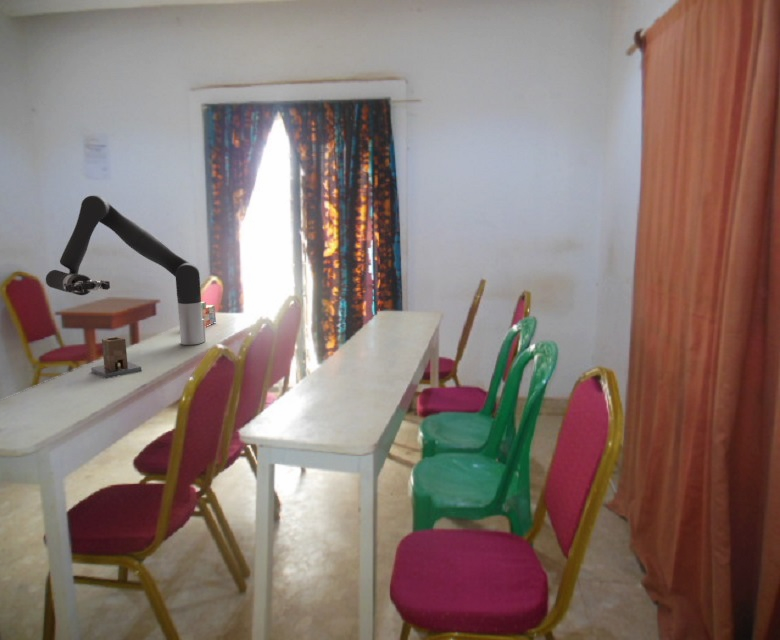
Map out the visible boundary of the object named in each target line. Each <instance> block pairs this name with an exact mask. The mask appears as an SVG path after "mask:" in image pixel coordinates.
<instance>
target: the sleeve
mask: <svg viewBox="0 0 780 640" xmlns="http://www.w3.org/2000/svg"><path fill="white" fill-rule="evenodd" d="M101 346H102V357H103V365H104V368H107V369H109V370H115V361H117V360H118V361H119V362H120V363H121V366H122V367H123V368H126V367H128V364H127V362H128V354H127V344H126V338H124V337H121V336H113V337H105V338H101Z"/></svg>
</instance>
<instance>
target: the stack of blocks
mask: <svg viewBox="0 0 780 640" xmlns="http://www.w3.org/2000/svg"><path fill="white" fill-rule="evenodd" d="M201 307H202V319H204V325H205V326H207V325H209V324H212V323H214V322H216V323H217V319H216V306H215V304H207V302H206V301H201Z"/></svg>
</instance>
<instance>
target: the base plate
mask: <svg viewBox="0 0 780 640" xmlns="http://www.w3.org/2000/svg"><path fill="white" fill-rule="evenodd" d="M127 364H128V367H126V368H123V367H122V366H121V363H120V362H119V361H118V360H117V361H115V370H109V369H107V368H104V364H103V365H97V366H94V367H93V366H91V367H90V370H91V373H93V372H94V373H93V374H95V373H96V375H97V374H98V376H99V377H102V376H103V377H102V378H104V377H105V378H104V379H109V378H108V377H110V378H113V376H115V377H118V375H120V376H125V375H129V374H134V373H138V371H139V372H142V366H141V365H137V364H134V363H132V362H131V361H130V362H129V361H127Z"/></svg>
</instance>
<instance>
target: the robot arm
mask: <svg viewBox="0 0 780 640" xmlns="http://www.w3.org/2000/svg"><path fill="white" fill-rule="evenodd" d="M77 217H78V218H77V221H76V224H75V226H74V229H73V232H72V234H71V236H70V238H69V240H68V242H67V244H66V246H65V248H64V250H63V252H62V254H61V257H60V259H59V263H60V265H61V266H63V267H64V268H66V269H68V272H64V271H61V270H58V269H52V270H51V271H49V272H48V273H47V274H46V276H45V284H46V285H47V286H48V287H49V288H52V289H56V290H59V291H62V292H66V293H70V294H73V295H77V296H86V295H89V293H90V292H92V291H101V290H105V291H106V290H107V291H108V290H109V289H111V285H110V283H111V282H110V281H108V280H102V279H101V280H92V279H91V278H90V277H89V276H87V275H86V274H79V271H80V267H81V264H82V261H83V260H84V257H85V255H86V252H87V250H88V246H89V244H90V239H91V237H92V235H93V233H94V231H95V229H96V227H97V225H98V224H99V223H100V224H102V225H104V226H105V227H107V228H109V230H111V231H112V232H113V233H115V235H117V236H118V237H119V238H120V239H121V240H122V241H123V242H124V243H125V244H126V245H127V246H129V248H131V249H132V250H134V251H135V252H136V253H138V254H139V255H141V256H143V257H144V258H146V259H148V261H151V262H152V263H155V264H157V265H158V266H161V267H163V268H164V269H166V271H167V272H168V273H170V274H171V275H173V277H174V278H175V286H176V288H175V289H176V298H177V309H178V310H177V311H178V322H179V324H178V325H179V336H180V339H179V340H180V344H181V345H183V346H184V345H185V346H186V345H187V346H189V345H190V346H191V345H192V346H193V345H199V344H202V343H204V342H206V328H205V325H204V319H202V307H201V302H202V294H201V293H202V291H201V278H200V272H199V271H200V270H199V269H198V267H197V266H196V265H194V264H193V263H191V262H189V261H188V260H185V259H184V258H183V257H181V256H179V255H178V254H176V253H175V252H173V250H171V249H170V248H169V247H168V246H167V245H166V244H164V243H163V242H162V241H161V240H160V239H159V238H157V237H156V236H155V235H153V234H152V233H151V232H150V231H148V230H147V229H145V228H144V227H142V226H141V225H139V224H138V223H137V222H134V221H133V220H132V219H130V218H128V217H126V216H124V214H122V213H121V212H120V211H119V210H117V208H115V207H114V206H113V205H112V204H111V203H110V202H109V201H107V199H106V198H104V197H102V196H99V195H89V196H87V197H85V198H84V199H83V200H82V201H81V205H80V209H79V214H78V216H77Z"/></svg>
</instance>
